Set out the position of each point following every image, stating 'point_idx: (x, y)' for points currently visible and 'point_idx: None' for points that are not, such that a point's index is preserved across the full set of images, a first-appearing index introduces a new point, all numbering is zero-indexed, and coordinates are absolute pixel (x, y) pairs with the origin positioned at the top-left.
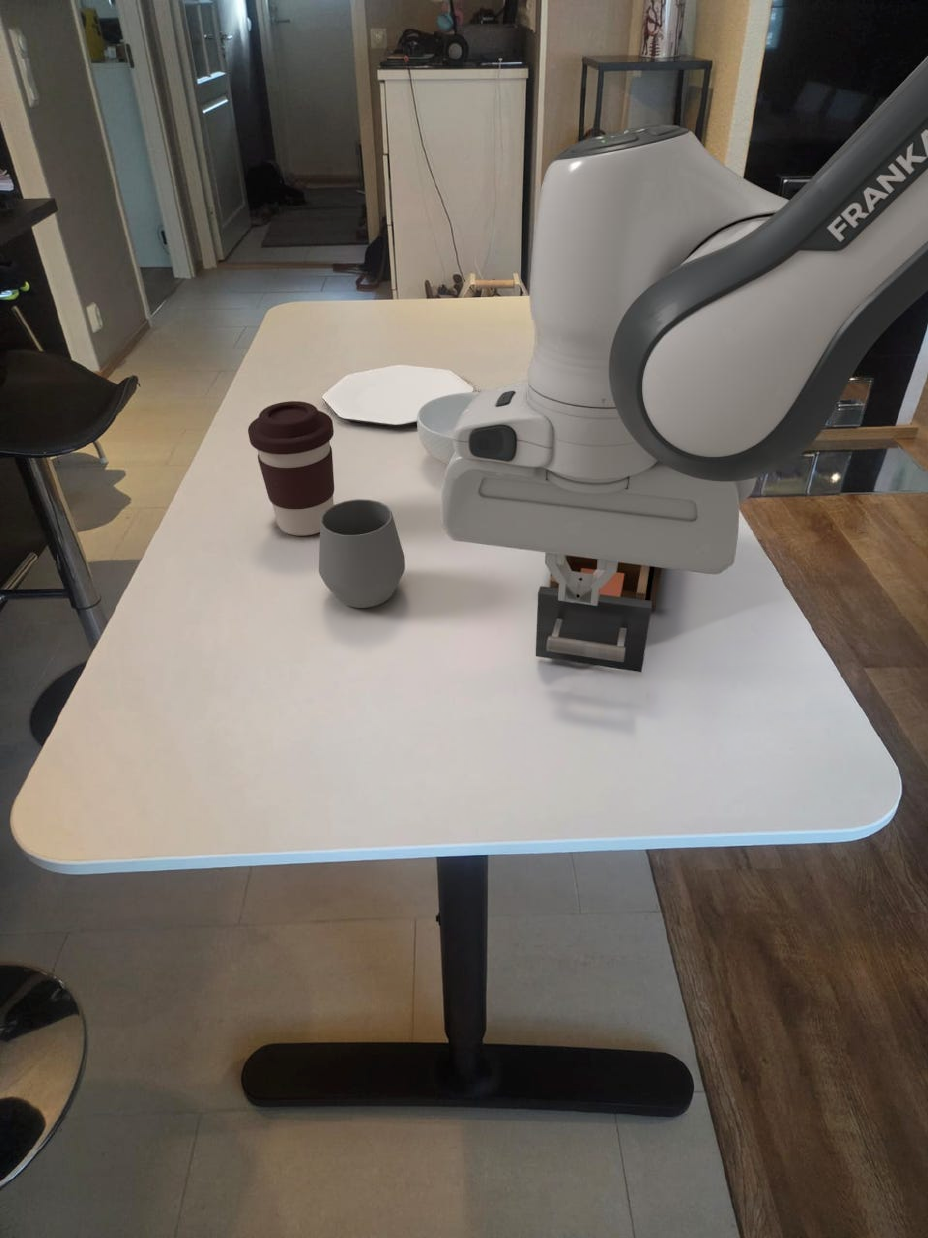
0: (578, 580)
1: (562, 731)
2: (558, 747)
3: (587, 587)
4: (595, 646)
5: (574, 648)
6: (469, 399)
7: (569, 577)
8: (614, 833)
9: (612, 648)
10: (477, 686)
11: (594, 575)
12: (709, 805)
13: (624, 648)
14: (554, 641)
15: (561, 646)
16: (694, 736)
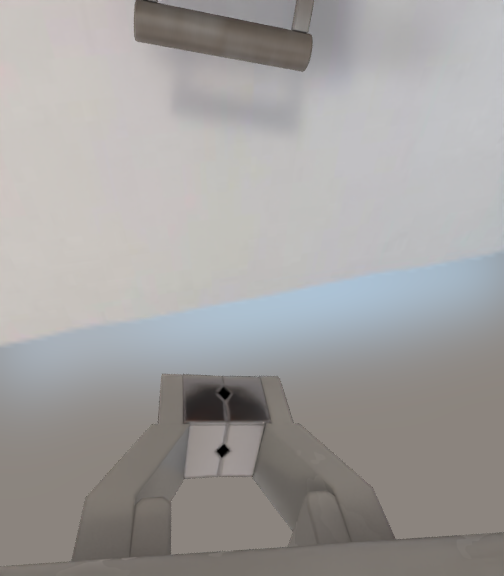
0: (216, 459)
1: (188, 138)
2: (185, 173)
3: (244, 474)
4: (246, 48)
5: (199, 50)
6: None
7: (185, 458)
8: (258, 295)
9: (283, 53)
10: (10, 27)
11: (269, 452)
12: (368, 245)
13: (309, 52)
14: (151, 32)
15: (169, 43)
16: (382, 128)
